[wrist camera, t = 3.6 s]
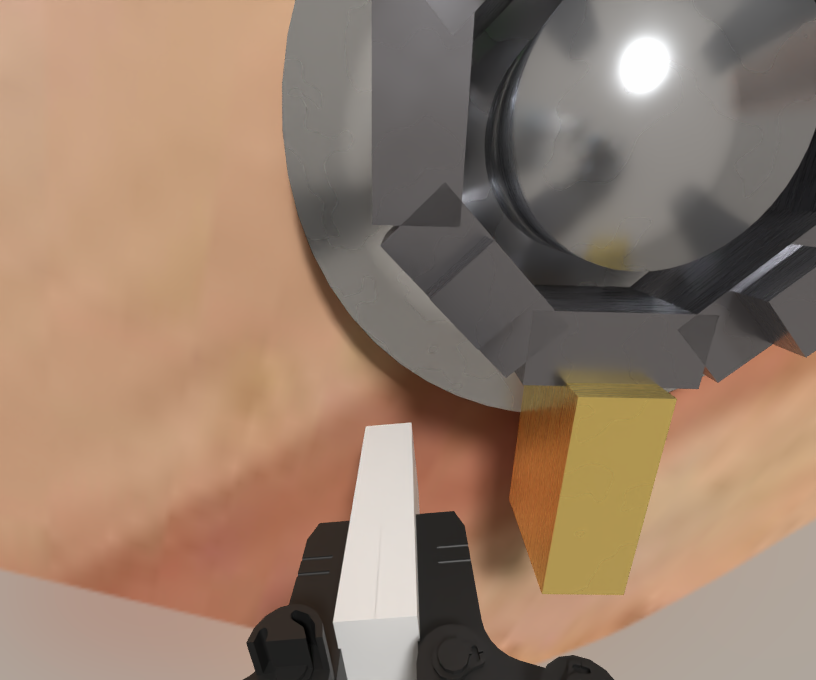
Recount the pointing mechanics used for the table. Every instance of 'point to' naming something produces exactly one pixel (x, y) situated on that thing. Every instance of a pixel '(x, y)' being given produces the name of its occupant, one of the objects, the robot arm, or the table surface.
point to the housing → (557, 150)
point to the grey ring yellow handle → (570, 307)
